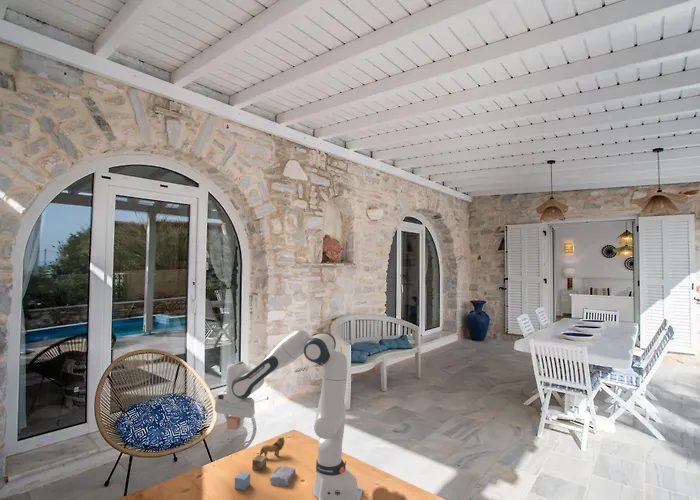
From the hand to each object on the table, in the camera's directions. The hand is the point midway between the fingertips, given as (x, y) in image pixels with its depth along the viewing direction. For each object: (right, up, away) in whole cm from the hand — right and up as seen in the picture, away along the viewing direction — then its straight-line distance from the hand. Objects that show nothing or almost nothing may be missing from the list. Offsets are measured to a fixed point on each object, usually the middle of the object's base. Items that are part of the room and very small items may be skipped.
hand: (234, 423), depth 192 cm
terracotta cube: (0, -2, 0) cm, 2 cm away
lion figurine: (+15, -25, +16) cm, 33 cm away
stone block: (+24, -25, -3) cm, 35 cm away
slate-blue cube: (+7, -24, -10) cm, 27 cm away
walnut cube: (+11, -25, +5) cm, 27 cm away
